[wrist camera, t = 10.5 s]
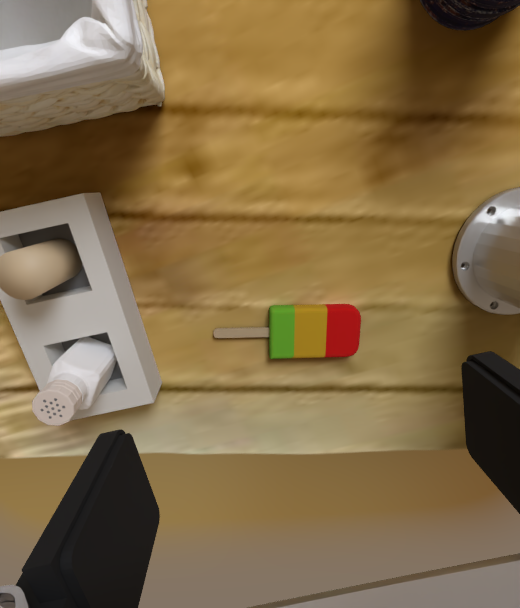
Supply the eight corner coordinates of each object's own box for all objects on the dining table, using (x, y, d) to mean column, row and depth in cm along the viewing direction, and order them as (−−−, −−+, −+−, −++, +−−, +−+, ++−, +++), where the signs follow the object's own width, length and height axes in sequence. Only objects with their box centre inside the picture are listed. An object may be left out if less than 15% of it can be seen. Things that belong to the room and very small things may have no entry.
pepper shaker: (111, 379, 40) (71, 437, 30) (72, 366, 39) (20, 421, 30) (122, 346, 39) (85, 395, 29) (82, 332, 38) (32, 378, 29)
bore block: (100, 192, 35) (60, 194, 27) (162, 382, 41) (143, 428, 33) (-5, 216, 35) (-74, 224, 28) (71, 401, 41) (32, 451, 34)
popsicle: (354, 350, 42) (359, 358, 40) (215, 354, 41) (214, 362, 39) (357, 302, 40) (363, 307, 38) (213, 305, 39) (211, 310, 38)
